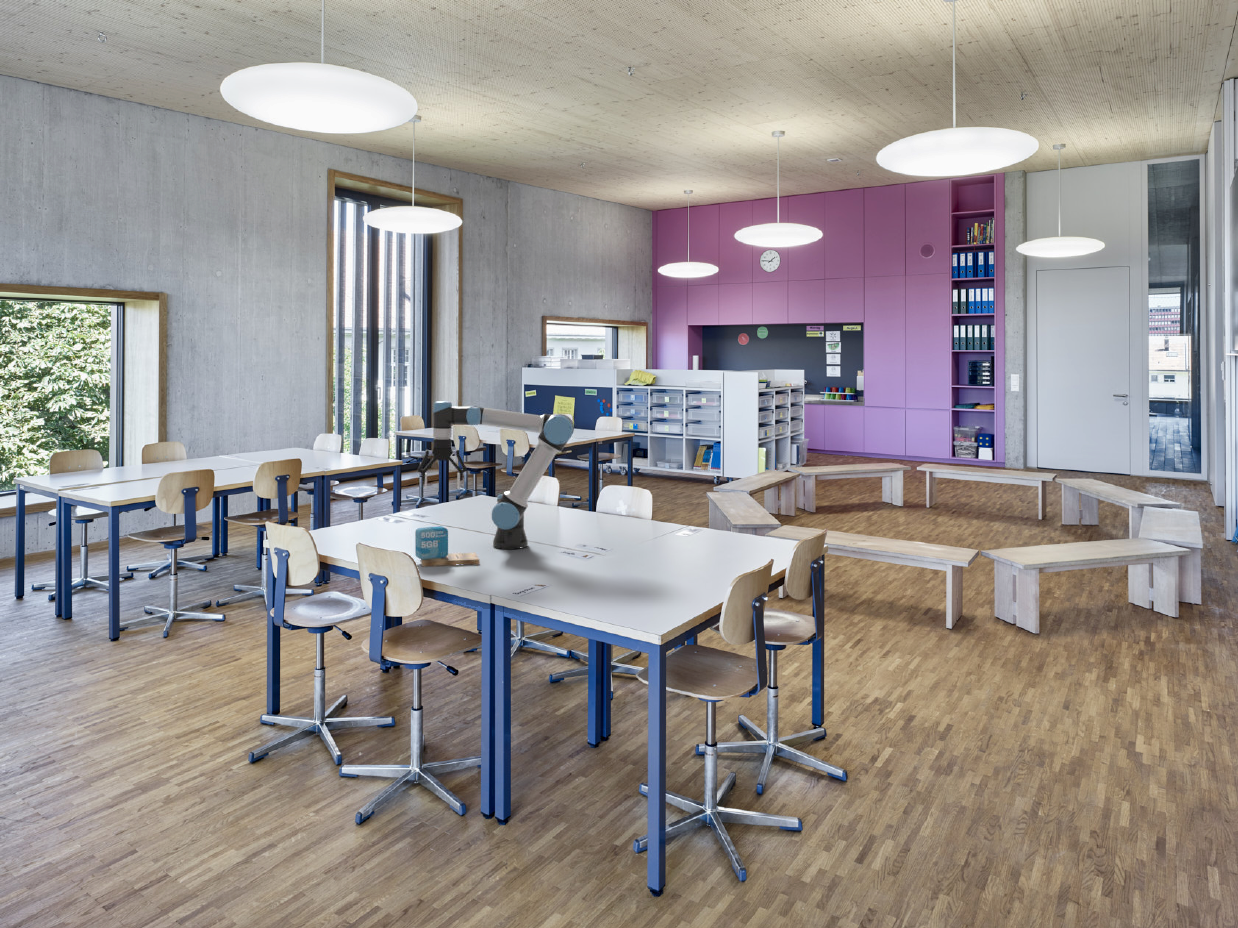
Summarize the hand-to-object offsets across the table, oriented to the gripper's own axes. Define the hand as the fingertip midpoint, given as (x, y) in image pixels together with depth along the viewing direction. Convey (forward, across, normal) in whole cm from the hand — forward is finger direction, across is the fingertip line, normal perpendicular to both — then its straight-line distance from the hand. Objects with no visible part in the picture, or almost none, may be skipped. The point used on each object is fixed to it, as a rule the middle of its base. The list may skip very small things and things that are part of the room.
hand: (442, 488), depth 351 cm
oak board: (+27, -1, +22) cm, 35 cm away
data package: (+25, +6, +22) cm, 34 cm away
